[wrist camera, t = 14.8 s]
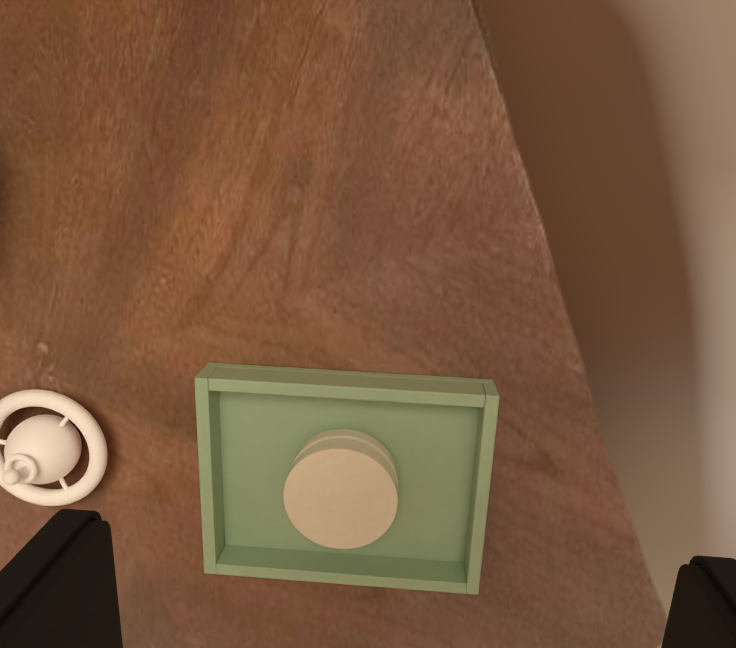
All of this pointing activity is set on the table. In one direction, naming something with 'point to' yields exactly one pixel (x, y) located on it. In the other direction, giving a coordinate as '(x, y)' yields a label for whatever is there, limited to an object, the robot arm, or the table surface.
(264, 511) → the tray
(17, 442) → the ring around a ball
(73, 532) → the robot arm
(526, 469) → the table surface
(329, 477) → the beige round container
